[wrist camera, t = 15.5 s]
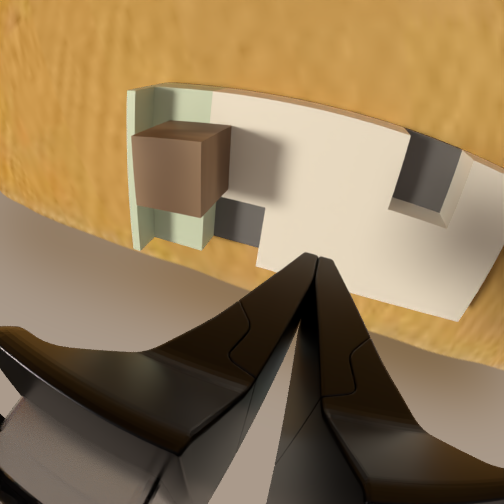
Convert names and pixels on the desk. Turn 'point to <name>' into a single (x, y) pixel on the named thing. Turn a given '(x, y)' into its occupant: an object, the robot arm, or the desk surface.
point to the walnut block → (181, 166)
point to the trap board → (335, 195)
